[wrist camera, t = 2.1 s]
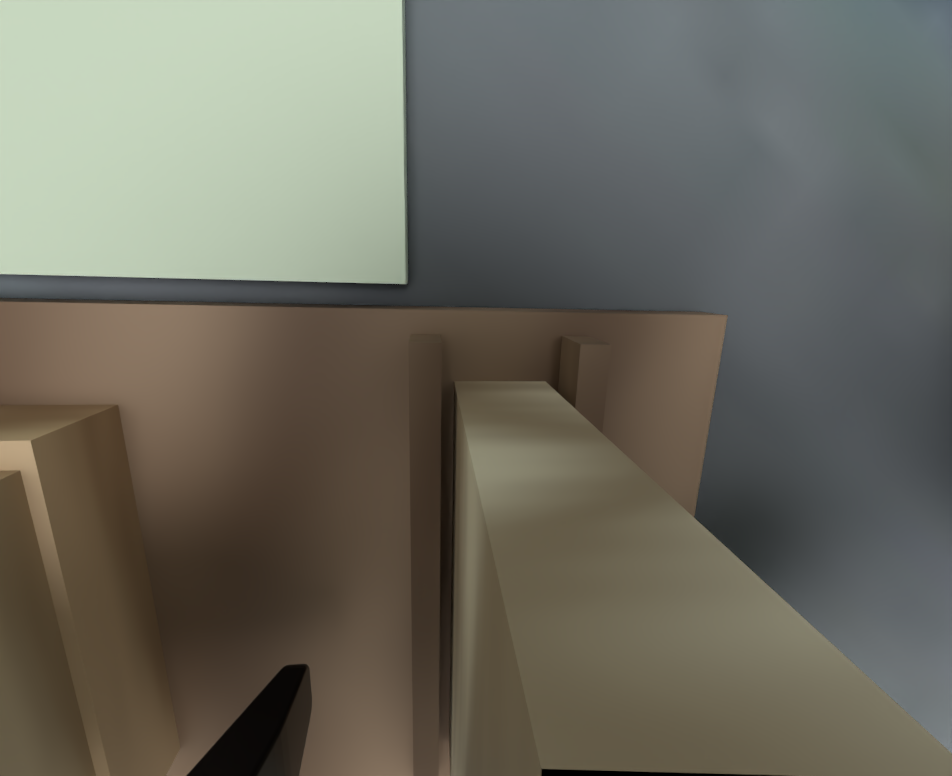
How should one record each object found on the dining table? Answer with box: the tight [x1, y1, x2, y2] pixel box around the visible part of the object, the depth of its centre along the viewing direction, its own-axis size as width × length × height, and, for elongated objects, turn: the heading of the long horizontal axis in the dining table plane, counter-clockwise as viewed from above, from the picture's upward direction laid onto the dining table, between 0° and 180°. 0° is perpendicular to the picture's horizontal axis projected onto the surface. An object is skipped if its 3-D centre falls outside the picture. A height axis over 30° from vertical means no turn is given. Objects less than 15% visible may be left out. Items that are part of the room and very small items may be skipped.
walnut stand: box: [0, 298, 728, 776], centre depth 10 cm, size 20×13×2 cm, turn 88°
